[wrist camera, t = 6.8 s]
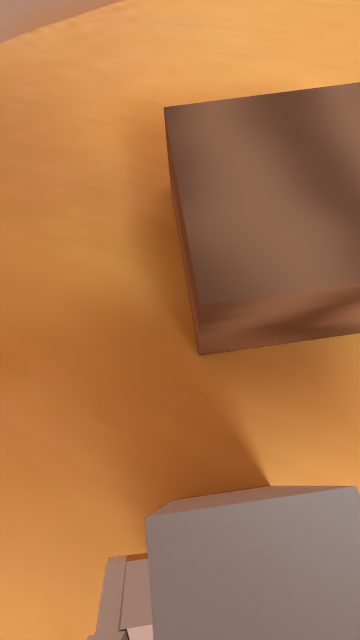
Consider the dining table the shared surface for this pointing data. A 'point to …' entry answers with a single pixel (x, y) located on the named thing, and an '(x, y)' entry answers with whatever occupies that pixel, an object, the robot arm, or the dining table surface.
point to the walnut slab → (269, 215)
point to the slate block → (257, 565)
